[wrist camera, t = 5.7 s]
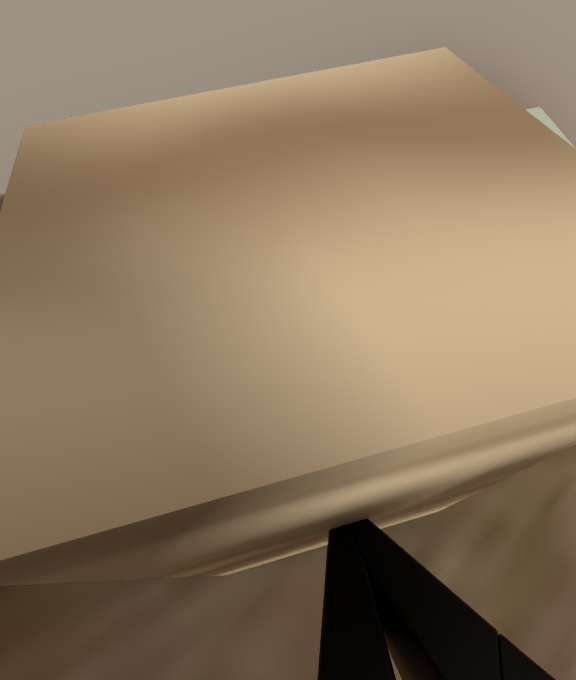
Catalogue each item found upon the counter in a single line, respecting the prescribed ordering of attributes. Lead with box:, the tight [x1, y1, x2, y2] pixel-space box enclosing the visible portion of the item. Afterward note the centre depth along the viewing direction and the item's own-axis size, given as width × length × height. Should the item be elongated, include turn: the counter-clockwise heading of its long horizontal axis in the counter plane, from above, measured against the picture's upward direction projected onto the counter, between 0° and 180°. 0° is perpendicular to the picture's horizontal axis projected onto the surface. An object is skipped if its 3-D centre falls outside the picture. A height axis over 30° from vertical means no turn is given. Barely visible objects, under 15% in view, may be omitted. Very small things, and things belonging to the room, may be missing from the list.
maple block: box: [0, 47, 576, 586], centre depth 10 cm, size 7×8×12 cm
